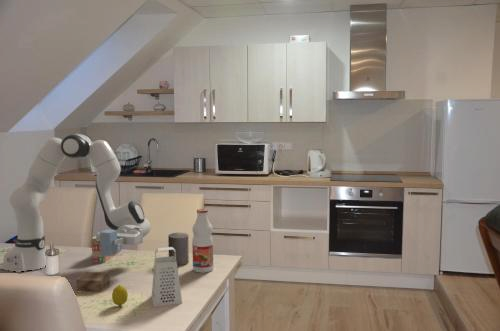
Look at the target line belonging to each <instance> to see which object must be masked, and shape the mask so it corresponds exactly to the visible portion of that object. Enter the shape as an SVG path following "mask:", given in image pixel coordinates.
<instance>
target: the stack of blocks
mask: <svg viewBox="0 0 500 331" xmlns="http://www.w3.org/2000/svg"><path fill="white" fill-rule="evenodd" d="M117 248H118V253H119V252H121V251H122V244H117ZM91 254H92V257H91V258H92V263H93V264H95V263H97V264H98V263H100V264H101V263H102V264H104V263H107V262H108V261H109V260H111V259H112V258H113V257H114V256H116V255H117V254H114V255H112V256H104V255H101V249H100V241H97V240H96V235H95V236H93V237H92V238H91Z"/></svg>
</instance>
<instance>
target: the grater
mask: <svg viewBox="0 0 500 331" xmlns="http://www.w3.org/2000/svg"><path fill="white" fill-rule="evenodd" d="M169 250H174V251H175V249H174V248H173V247H169V246H168V247H166V246H165V247H157V248H156V249H155V250H154V254H155V255H154V256H155V257H154V262H153V275H152V285H151V286H152V287H151V300H152V305H153V307H161V306H162V307H163V306H171V305H180V304H183V299H182V298H183V297H182V292H181V284H180V277H179V270H178V269H179V268H178V266H177V261H176V251H175V257H174V256H171V257H169V256H161V257H157V253H158V252H160V251H161V252H162V251H169ZM161 298H162V299H161ZM164 298H165V299H164ZM163 301H164V302H163ZM166 301H167V302H166Z"/></svg>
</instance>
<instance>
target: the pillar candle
mask: <svg viewBox="0 0 500 331" xmlns="http://www.w3.org/2000/svg"><path fill="white" fill-rule="evenodd" d="M167 240H168V241H167V242H168V247H173V248H174V249H175V251H176V261H177V267H178V266H179V265H181V266H186V265H188V264H189V262H190V260H189V258H190V256H189V252H190V251H189V248H190V247H189V246H190V245H189V242H190V241H189V234H188V233H186V232H172V233H170V234H168V238H167ZM175 251H174V250H168V257H171V256H174V257H175ZM187 263H188V264H187ZM185 264H186V265H185ZM179 267H180V266H179Z"/></svg>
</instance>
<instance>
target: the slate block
mask: <svg viewBox="0 0 500 331" xmlns="http://www.w3.org/2000/svg"><path fill="white" fill-rule="evenodd" d="M99 232H100V249H101V255H104V256H112V255H114V254H116V255H117V254H119V252H118V248H117V244H116V245H115V244H113V242H112V241H113V240H117V230H113V229H105V230H102V231H99ZM114 256H115V255H114Z"/></svg>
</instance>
